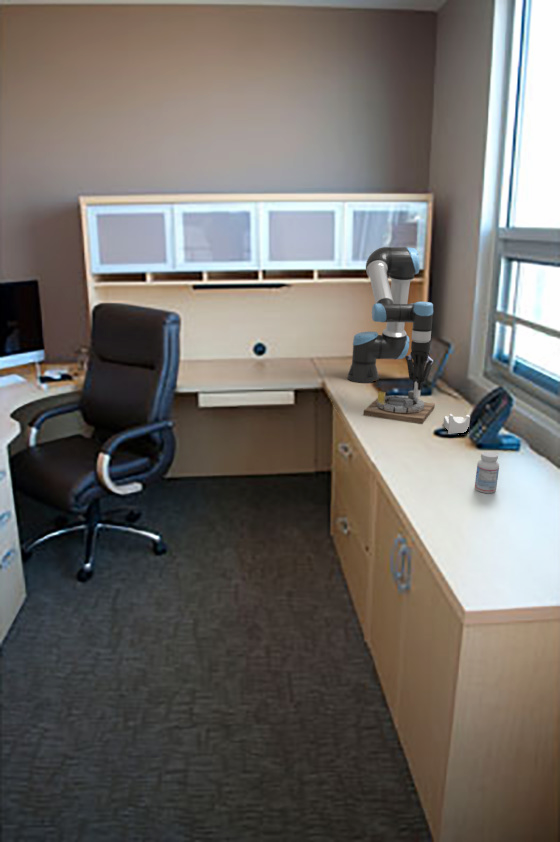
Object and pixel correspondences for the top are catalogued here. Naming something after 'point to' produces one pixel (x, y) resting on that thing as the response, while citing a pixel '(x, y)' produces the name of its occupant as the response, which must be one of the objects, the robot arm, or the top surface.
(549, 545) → the top surface
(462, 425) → the bracket
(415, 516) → the top surface
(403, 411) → the grey block ring
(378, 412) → the walnut base
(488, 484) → the pill bottle
